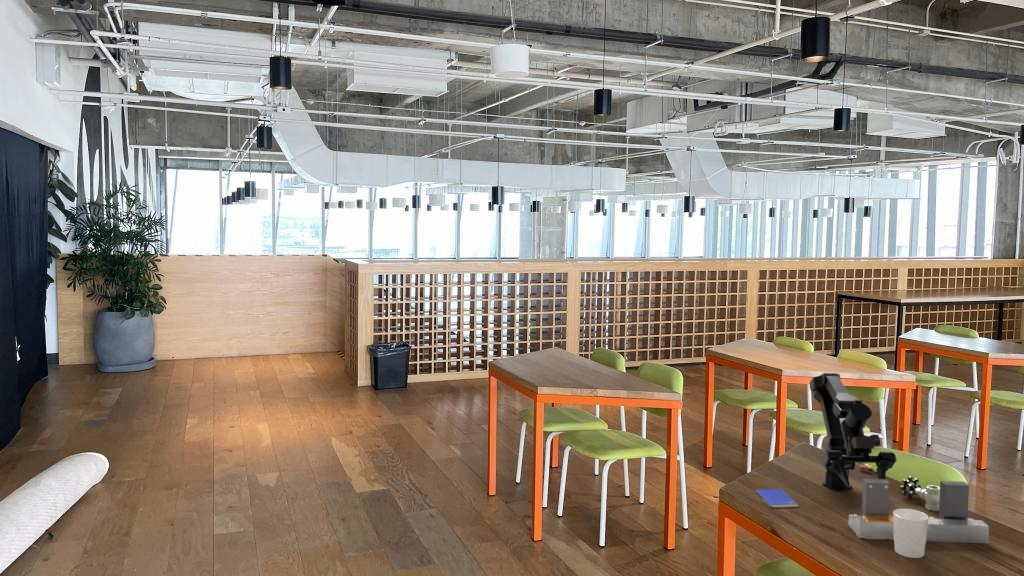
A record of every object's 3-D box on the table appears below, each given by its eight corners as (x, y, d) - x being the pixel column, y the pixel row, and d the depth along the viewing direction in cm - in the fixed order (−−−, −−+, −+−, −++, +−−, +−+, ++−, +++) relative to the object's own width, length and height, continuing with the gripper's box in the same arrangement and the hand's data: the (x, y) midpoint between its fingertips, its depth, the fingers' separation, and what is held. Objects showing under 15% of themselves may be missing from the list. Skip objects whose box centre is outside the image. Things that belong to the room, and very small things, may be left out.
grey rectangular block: (861, 524, 211) (862, 478, 209) (884, 525, 210) (885, 479, 209) (865, 529, 207) (867, 482, 206) (888, 530, 207) (890, 483, 205)
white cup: (885, 546, 198) (886, 509, 197) (914, 545, 199) (916, 507, 198) (903, 560, 190) (904, 521, 189) (933, 558, 191) (935, 519, 190)
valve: (947, 511, 222) (918, 496, 233) (948, 488, 221) (919, 475, 233) (927, 512, 220) (899, 498, 232) (928, 490, 220) (899, 476, 232)
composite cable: (888, 478, 250) (888, 471, 250) (875, 480, 249) (875, 472, 249) (867, 469, 259) (868, 462, 259) (855, 470, 258) (855, 463, 258)
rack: (848, 524, 212) (849, 476, 211) (970, 528, 209) (973, 480, 208) (859, 538, 203) (861, 488, 202) (988, 543, 199) (990, 492, 198)
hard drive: (798, 503, 226) (781, 488, 238) (770, 504, 225) (755, 489, 238) (798, 508, 226) (781, 493, 238) (770, 509, 225) (755, 494, 238)
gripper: (827, 423, 221) (837, 473, 211) (895, 424, 219) (909, 475, 209) (818, 441, 229) (828, 490, 219) (884, 443, 227) (897, 492, 217)
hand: (865, 487), depth 216 cm, fingers open, 9 cm apart
